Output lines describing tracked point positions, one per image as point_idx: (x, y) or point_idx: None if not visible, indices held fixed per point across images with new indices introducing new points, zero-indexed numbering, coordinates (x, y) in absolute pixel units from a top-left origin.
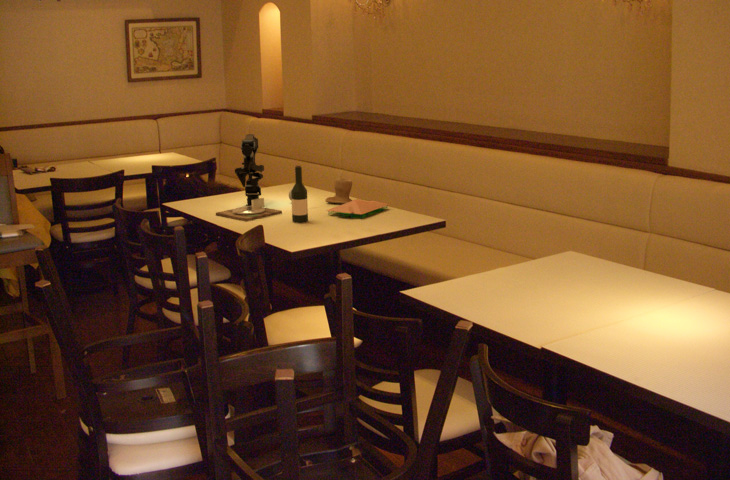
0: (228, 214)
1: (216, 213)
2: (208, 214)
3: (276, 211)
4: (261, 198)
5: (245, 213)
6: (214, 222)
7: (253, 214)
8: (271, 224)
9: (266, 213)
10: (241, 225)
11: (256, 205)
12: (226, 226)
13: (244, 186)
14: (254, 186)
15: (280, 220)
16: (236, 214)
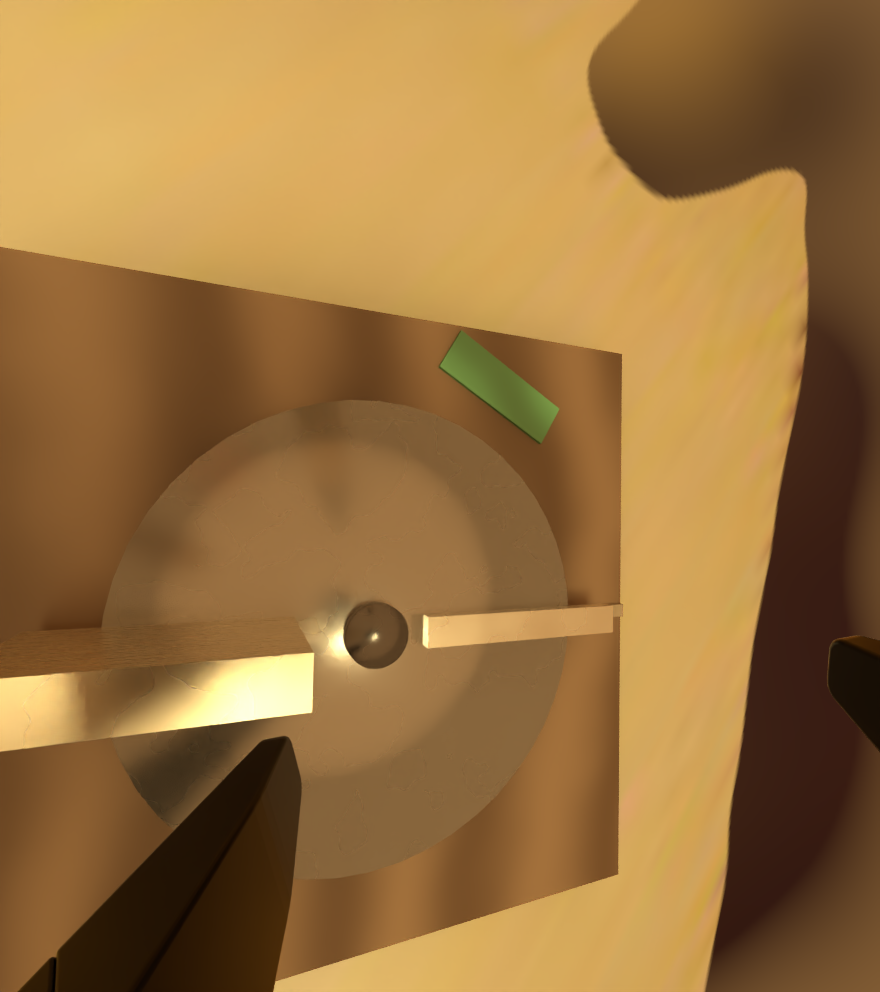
0: (597, 681)
1: (613, 854)
2: (610, 954)
3: (88, 293)
4: (29, 685)
5: (529, 494)
6: (753, 579)
7: None
8: (547, 50)
9: (301, 336)
10: (704, 293)
11: (229, 631)
12: (775, 379)
13: (861, 641)
14: (254, 862)
15: (368, 46)
16: None
